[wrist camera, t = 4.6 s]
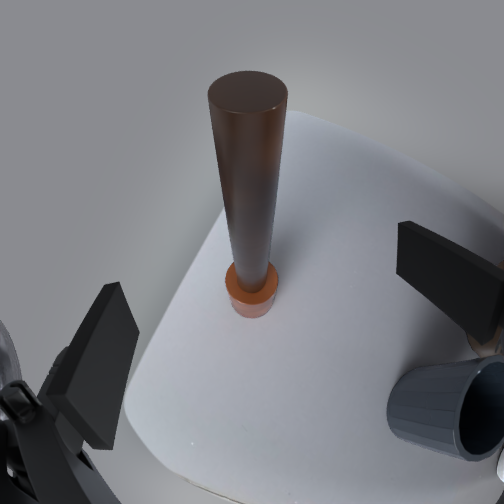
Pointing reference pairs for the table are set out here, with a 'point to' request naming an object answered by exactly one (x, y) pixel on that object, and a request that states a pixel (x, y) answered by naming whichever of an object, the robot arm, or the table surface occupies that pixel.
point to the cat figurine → (501, 466)
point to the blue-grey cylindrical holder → (451, 408)
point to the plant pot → (490, 346)
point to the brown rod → (249, 179)
